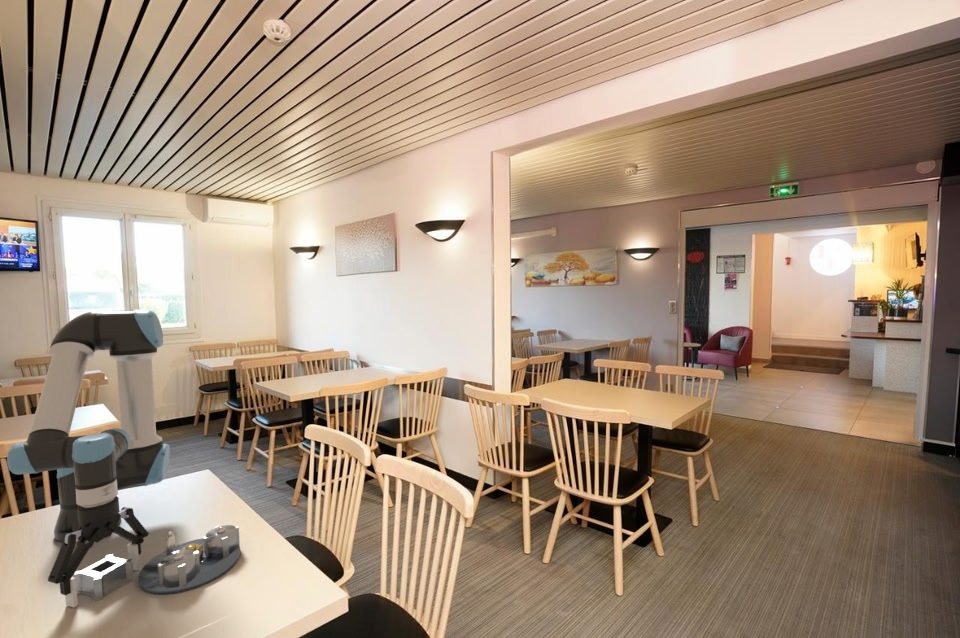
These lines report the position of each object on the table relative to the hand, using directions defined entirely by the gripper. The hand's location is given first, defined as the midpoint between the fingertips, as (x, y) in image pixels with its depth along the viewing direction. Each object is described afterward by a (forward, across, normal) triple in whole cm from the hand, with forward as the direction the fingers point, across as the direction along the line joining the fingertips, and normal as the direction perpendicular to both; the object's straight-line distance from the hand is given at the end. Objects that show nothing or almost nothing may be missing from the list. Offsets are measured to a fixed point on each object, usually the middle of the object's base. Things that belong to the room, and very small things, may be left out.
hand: (104, 586), depth 109 cm
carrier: (0, +12, -13) cm, 18 cm away
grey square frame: (0, 0, 0) cm, 0 cm away
